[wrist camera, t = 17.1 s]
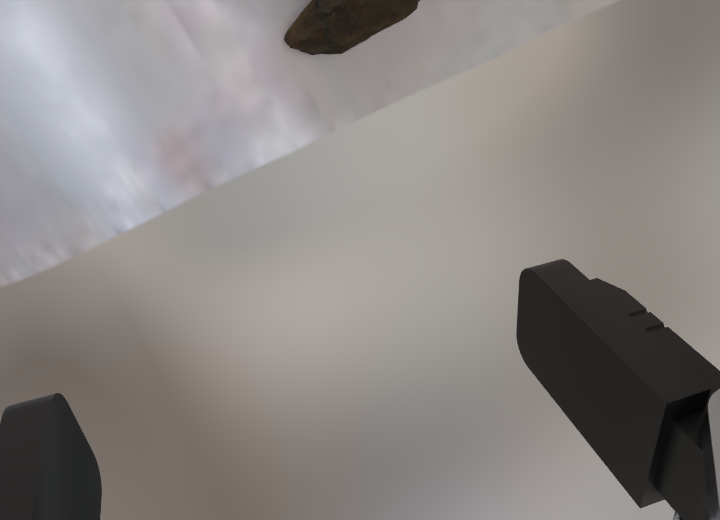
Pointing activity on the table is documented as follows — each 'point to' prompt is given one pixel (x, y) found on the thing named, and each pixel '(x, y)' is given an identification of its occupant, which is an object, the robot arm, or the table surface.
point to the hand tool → (344, 23)
